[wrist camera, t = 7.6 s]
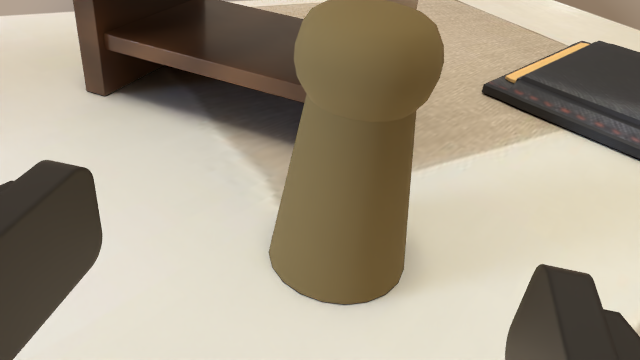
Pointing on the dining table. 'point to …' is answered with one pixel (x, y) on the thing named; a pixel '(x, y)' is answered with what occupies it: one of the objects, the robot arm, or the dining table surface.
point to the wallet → (581, 92)
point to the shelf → (189, 43)
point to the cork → (354, 148)
